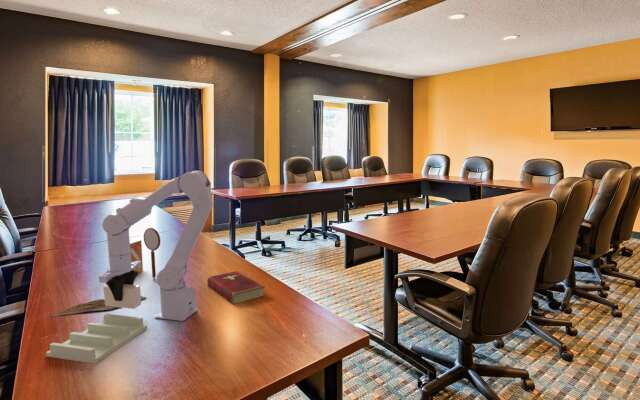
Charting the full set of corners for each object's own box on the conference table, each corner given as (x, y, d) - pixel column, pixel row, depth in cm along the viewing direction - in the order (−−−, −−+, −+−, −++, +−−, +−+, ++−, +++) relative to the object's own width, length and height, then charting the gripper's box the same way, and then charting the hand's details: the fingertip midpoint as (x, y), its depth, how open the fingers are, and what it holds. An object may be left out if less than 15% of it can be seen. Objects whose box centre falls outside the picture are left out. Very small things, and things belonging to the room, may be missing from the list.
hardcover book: (232, 306, 124) (232, 293, 123) (207, 287, 140) (206, 276, 140) (265, 297, 131) (264, 285, 130) (237, 280, 147) (237, 269, 147)
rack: (147, 328, 107) (146, 317, 107) (95, 363, 90) (94, 351, 89) (104, 322, 110) (104, 312, 110) (46, 356, 93) (45, 344, 92)
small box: (129, 277, 150) (127, 244, 148) (115, 275, 151) (113, 243, 149) (143, 270, 157) (141, 239, 156) (130, 269, 159) (128, 238, 157)
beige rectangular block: (141, 304, 115) (139, 285, 114) (134, 308, 112) (132, 289, 111) (112, 301, 117) (111, 282, 116) (105, 305, 114) (103, 286, 114)
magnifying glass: (163, 280, 146) (160, 228, 143) (159, 281, 144) (157, 229, 142) (148, 276, 150) (145, 226, 147) (144, 278, 149) (141, 227, 146)
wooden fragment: (144, 293, 133) (144, 290, 133) (147, 304, 124) (147, 301, 124) (54, 309, 121) (54, 305, 121) (51, 323, 111) (50, 319, 111)
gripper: (125, 246, 120) (128, 288, 122) (88, 259, 106) (92, 306, 108) (145, 248, 119) (147, 290, 121) (109, 261, 105) (113, 308, 107)
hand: (122, 298), depth 114 cm, fingers closed on beige rectangular block, 3 cm apart
